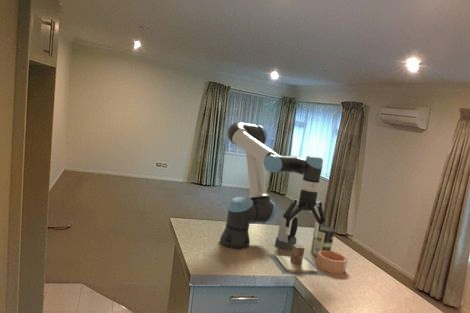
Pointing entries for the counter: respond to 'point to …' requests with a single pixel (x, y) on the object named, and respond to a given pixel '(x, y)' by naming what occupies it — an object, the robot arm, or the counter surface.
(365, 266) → the counter surface
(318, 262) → the bowl
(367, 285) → the counter surface
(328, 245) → the coffee can
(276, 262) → the mat
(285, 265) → the lid
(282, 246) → the alarm clock
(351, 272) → the counter surface
